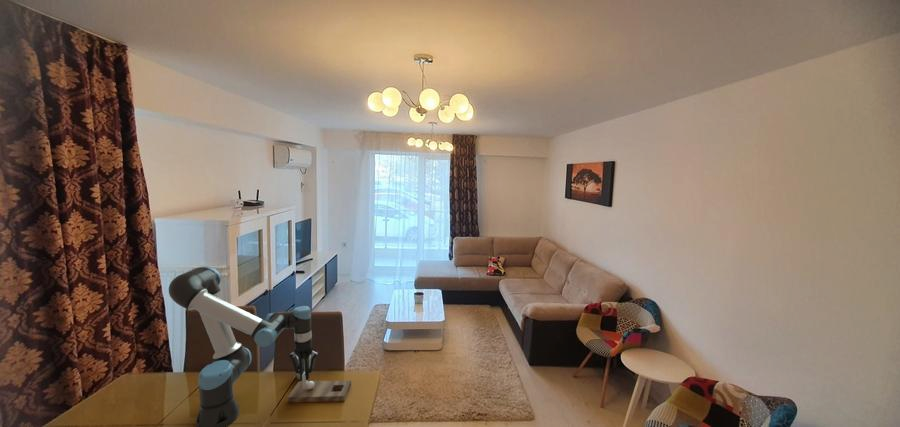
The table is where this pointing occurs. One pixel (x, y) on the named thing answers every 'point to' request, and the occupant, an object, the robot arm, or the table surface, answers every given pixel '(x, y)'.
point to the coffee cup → (304, 366)
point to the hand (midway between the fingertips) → (305, 385)
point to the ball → (310, 385)
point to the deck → (320, 392)
